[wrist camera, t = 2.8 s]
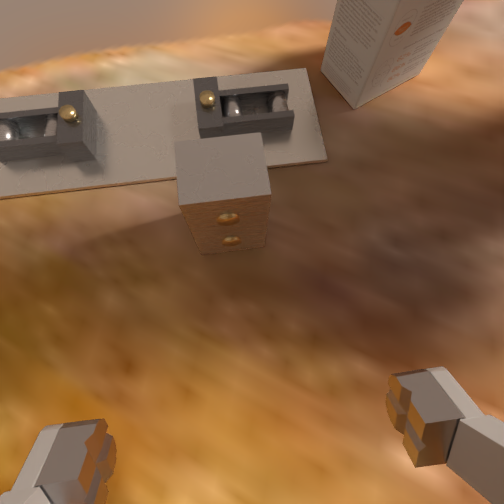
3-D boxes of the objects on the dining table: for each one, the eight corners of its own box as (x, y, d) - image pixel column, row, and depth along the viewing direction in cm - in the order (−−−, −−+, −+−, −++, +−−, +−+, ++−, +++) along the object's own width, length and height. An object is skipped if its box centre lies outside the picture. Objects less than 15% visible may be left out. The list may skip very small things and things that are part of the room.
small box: (383, 38, 34) (440, -99, 24) (419, 76, 32) (497, -52, 22) (317, 71, 32) (348, -60, 22) (352, 112, 31) (402, -7, 21)
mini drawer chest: (256, 199, 28) (260, 129, 19) (264, 249, 27) (272, 197, 18) (196, 206, 28) (173, 138, 19) (201, 257, 26) (179, 208, 18)
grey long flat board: (305, 71, 32) (311, 37, 29) (326, 161, 29) (336, 136, 26) (-19, 104, 31) (-51, 72, 27) (-32, 202, 28) (-70, 181, 24)
